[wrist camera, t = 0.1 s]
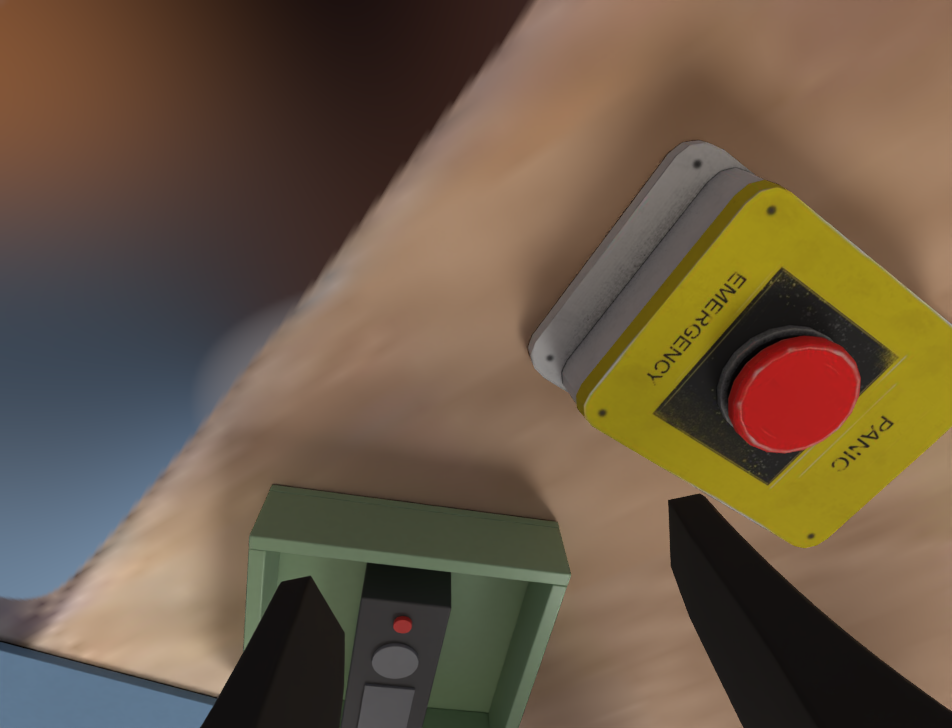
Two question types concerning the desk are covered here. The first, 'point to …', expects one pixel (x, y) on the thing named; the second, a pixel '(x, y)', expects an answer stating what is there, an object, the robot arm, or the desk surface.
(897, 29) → the desk surface
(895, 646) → the desk surface
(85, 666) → the mat
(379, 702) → the remote
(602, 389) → the emergency button
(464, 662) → the caddy
